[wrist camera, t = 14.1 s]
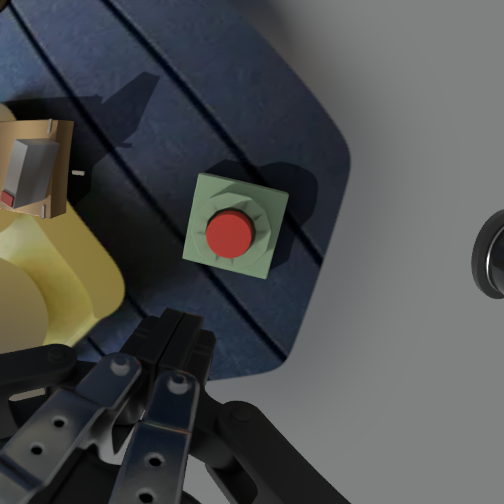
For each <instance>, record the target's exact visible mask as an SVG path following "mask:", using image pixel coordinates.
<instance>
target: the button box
mask: <svg viewBox="0 0 504 504" xmlns="http://www.w3.org/2000/svg"><path fill="white" fill-rule="evenodd" d="M288 197H289V194H288V193H287V192H284V191H280V190H276V189H272V188H268V187H264V186H260V185H256V184H252V183H247V182H243V181H239V180H235V179H231V178H226V177H222V176H217V175H213V174H208V173H204V172H203V173H200V174H199V175H198V180H197V185H196V190H195V194H194V199H193V204H192V209H191V214H190V220H189V225H188V230H187V235H186V241H185V246H184V252H183V259H187V260H191V261H195V262H199V263H203V264H207V265H211V266H215V267H219V268H223V269H227V270H231V271H235V272H239V273H243V274H247V275H251V276H255V277H259V278H263V279H266V278H267V275H268V271H269V268H270V264H271V260H272V257H273V253H274V249H275V246H276V242H277V238H278V235H279V231H280V227H281V223H282V220H283V216H284V212H285V208H286V205H287V201H288ZM229 210H233V211H237V212H240V213H242V214H244V215H245V216H246V217H247V218H248V219H249V221H250V223H251V225H252V230H253V234H252V239H251V243H250V246H249V248H248V249H247V250H246V252H244V253H243V254H242V255H240V256H238V257H235V258H223V257H221V256H218V255H217V254H215V253H214V252H213V251H212V250H211V249H210V247H209V245H208V243H207V240H206V231H207V228H208V226H209V224H210V222H211V221H212V220H213V219H214V218H215V217H216V216H217V215H218V214H220V213H221V212H224V211H229Z"/></svg>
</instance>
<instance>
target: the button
mask: <svg viewBox="0 0 504 504" xmlns="http://www.w3.org/2000/svg"><path fill="white" fill-rule="evenodd" d="M252 234H253V230H252V225H251V223H250V221H249V219H248V218H247V217H246V216H245V215H244V214H242V213H240V212H237V211H233V210H229V211H224V212H221V213H220V214H218V215H217V216H216V217H215V218H214V219H213V220H212V221H211V222H210V224H209V226H208V228H207V231H206V240H207V243H208V245H209V247H210V249H211V250H212V251H213V252H214V253H215V254H217V255H218V256H221V257H223V258H235V257H238V256H240V255H242V254H243V253H244V252H246V250H247V249H248V248H249V246H250V243H251V239H252Z"/></svg>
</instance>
